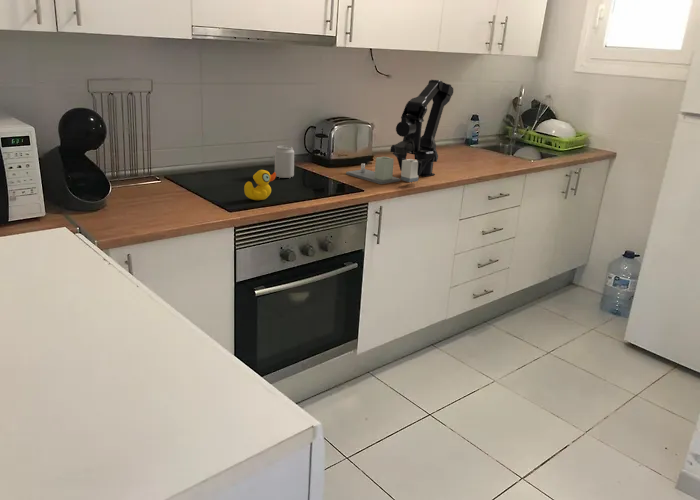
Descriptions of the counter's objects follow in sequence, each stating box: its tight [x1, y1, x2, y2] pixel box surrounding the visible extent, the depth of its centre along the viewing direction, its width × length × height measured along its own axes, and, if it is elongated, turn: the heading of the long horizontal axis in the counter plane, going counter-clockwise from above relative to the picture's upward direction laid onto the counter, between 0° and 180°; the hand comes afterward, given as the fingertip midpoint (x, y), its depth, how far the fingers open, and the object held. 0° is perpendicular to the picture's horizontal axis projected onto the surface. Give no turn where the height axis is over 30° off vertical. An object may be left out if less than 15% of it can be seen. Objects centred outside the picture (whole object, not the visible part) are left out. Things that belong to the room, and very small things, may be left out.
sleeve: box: [400, 158, 420, 183], centre depth 233 cm, size 5×5×8 cm
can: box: [274, 145, 295, 179], centre depth 226 cm, size 8×8×12 cm
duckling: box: [243, 169, 277, 201], centre depth 193 cm, size 11×5×10 cm, turn 125°
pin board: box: [345, 156, 401, 185], centre depth 234 cm, size 11×20×9 cm, turn 42°
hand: (410, 173), depth 234 cm, fingers open, 9 cm apart
